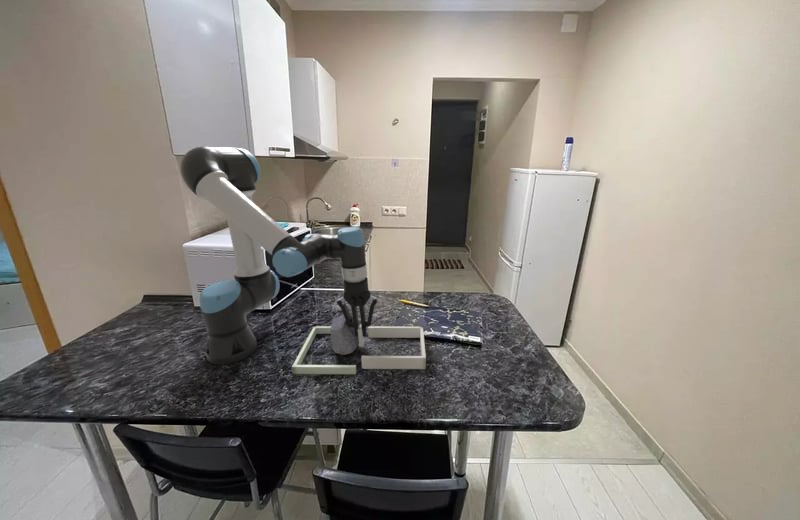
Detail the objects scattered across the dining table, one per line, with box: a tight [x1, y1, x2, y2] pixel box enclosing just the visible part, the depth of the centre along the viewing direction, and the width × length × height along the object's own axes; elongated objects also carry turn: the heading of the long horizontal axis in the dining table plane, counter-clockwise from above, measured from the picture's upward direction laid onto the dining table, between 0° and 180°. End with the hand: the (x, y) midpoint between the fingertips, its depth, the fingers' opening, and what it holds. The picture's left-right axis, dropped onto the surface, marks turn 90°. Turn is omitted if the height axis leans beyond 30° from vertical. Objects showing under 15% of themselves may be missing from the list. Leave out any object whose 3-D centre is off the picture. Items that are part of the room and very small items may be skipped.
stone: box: [329, 313, 359, 356], centre depth 101 cm, size 12×10×10 cm
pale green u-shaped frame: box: [291, 325, 357, 375], centre depth 102 cm, size 19×23×2 cm
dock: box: [360, 325, 427, 370], centre depth 101 cm, size 20×18×4 cm
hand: (361, 344), depth 101 cm, fingers closed
